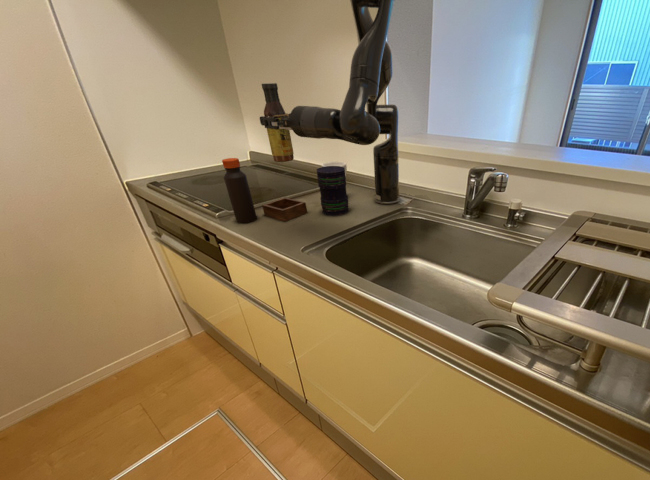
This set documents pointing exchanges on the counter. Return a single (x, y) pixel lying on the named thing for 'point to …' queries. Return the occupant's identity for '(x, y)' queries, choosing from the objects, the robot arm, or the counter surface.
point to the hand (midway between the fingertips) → (271, 119)
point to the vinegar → (238, 191)
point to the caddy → (284, 209)
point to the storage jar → (333, 190)
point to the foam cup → (335, 165)
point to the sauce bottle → (280, 137)
